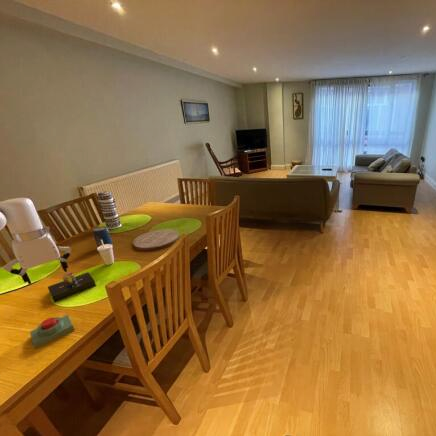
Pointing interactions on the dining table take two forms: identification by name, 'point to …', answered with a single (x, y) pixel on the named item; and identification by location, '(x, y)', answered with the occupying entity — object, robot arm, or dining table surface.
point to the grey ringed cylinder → (109, 210)
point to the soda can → (102, 236)
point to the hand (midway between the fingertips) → (48, 276)
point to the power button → (48, 323)
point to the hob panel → (71, 287)
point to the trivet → (156, 239)
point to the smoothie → (106, 253)
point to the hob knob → (69, 279)
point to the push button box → (51, 332)
